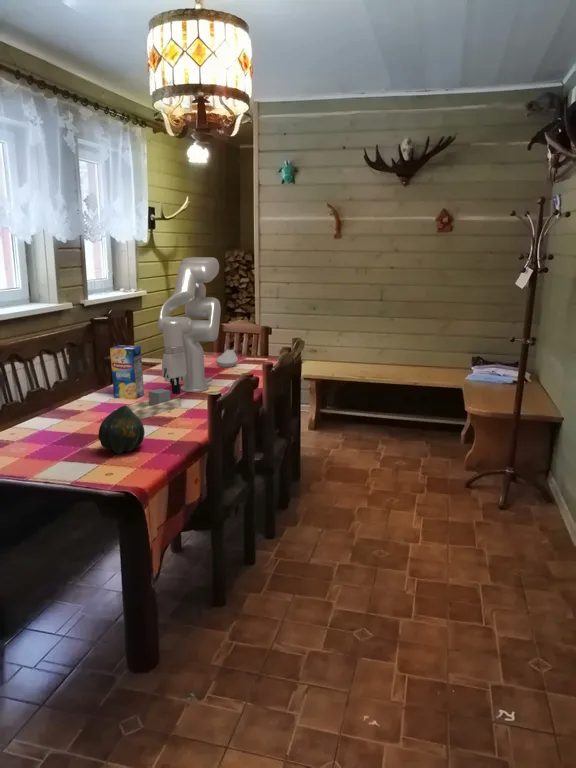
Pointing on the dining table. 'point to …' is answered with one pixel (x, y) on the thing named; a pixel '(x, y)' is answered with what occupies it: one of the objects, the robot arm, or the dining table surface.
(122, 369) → the beverage box
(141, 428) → the squash
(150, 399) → the slate block
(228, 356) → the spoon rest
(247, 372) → the dining table surface
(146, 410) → the birch chute
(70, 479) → the dining table surface
